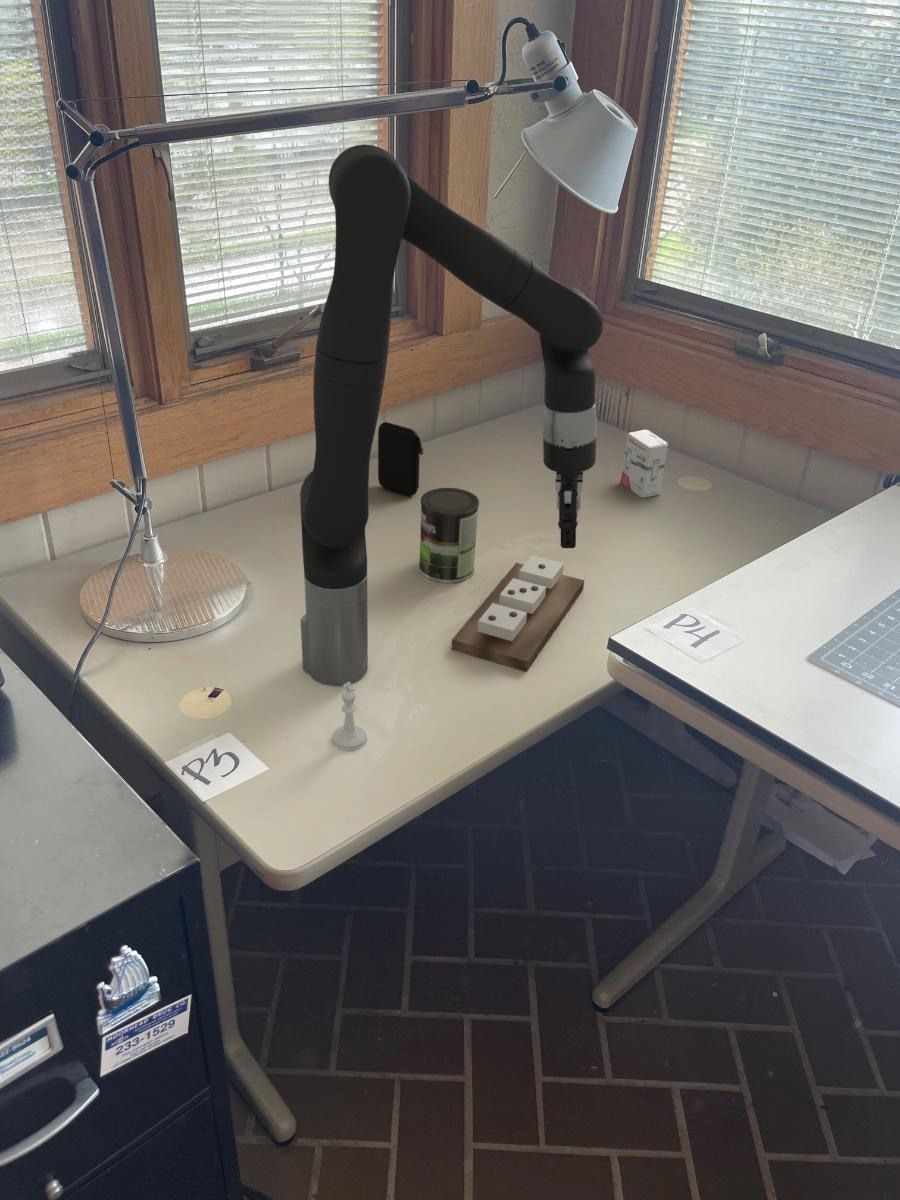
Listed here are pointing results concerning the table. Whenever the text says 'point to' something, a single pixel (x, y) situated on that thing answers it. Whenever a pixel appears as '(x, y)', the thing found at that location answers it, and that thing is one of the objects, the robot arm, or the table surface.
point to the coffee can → (448, 534)
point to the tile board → (532, 633)
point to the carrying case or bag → (398, 458)
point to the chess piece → (349, 724)
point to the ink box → (644, 463)
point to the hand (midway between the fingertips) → (569, 532)
